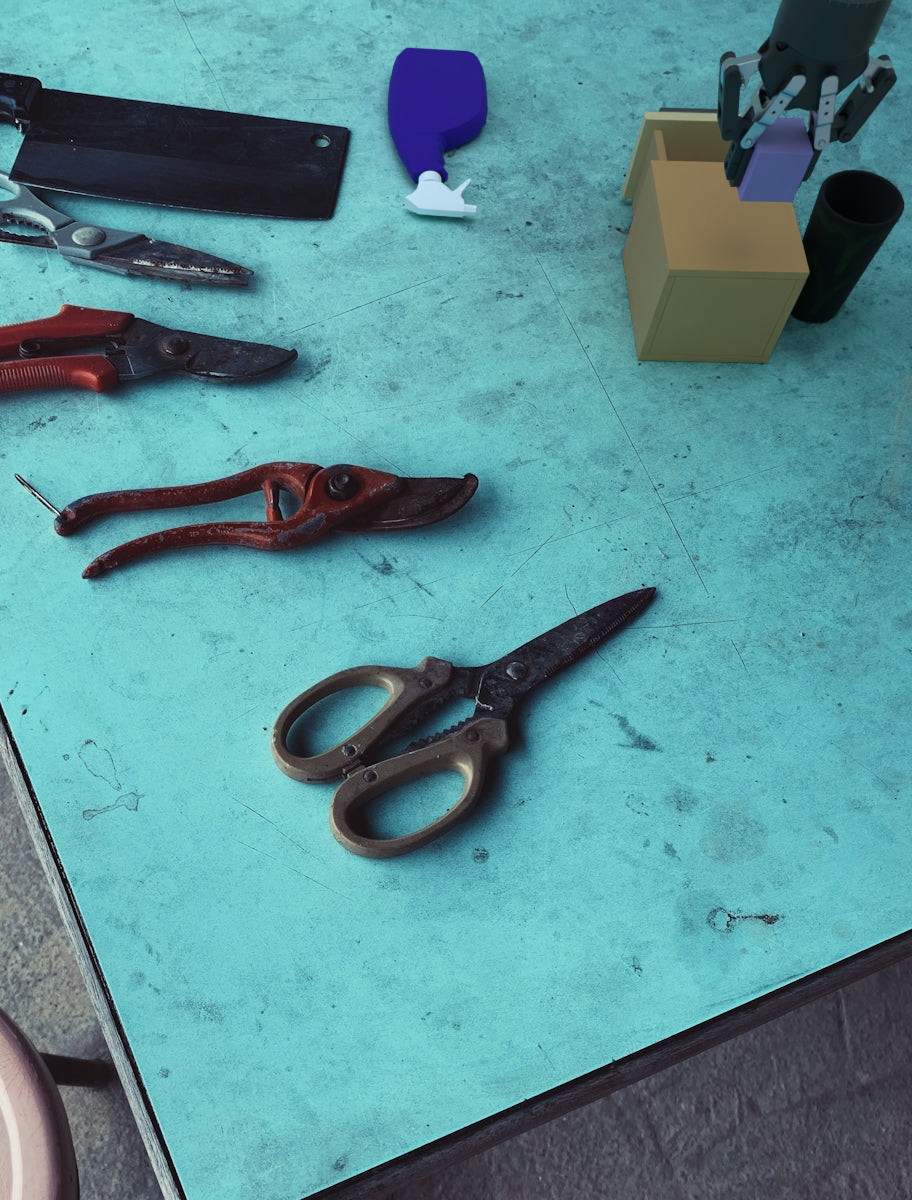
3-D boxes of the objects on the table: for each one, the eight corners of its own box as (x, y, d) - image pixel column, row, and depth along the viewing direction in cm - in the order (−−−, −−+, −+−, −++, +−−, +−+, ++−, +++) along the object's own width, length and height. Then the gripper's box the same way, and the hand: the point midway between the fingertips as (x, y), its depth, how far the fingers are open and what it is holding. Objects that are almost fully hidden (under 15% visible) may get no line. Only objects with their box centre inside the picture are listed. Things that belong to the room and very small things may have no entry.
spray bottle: (390, 44, 132) (384, 197, 121) (489, 49, 132) (492, 203, 121) (388, 70, 134) (382, 222, 124) (485, 75, 134) (487, 228, 124)
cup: (808, 266, 122) (860, 158, 111) (864, 310, 120) (922, 204, 109) (755, 296, 120) (802, 189, 109) (811, 342, 117) (865, 237, 107)
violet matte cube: (782, 167, 103) (803, 117, 99) (792, 202, 101) (814, 153, 97) (730, 166, 103) (749, 116, 99) (739, 201, 101) (759, 152, 97)
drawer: (617, 163, 127) (639, 83, 119) (723, 166, 127) (753, 86, 119) (635, 282, 119) (660, 204, 111) (748, 285, 119) (782, 208, 112)
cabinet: (622, 255, 122) (650, 159, 113) (744, 258, 122) (783, 163, 113) (637, 360, 116) (669, 269, 106) (766, 363, 116) (810, 272, 107)
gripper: (760, -3, 84) (686, 210, 100) (959, 1, 85) (854, 213, 100) (742, -65, 88) (673, 151, 103) (934, -61, 88) (836, 153, 103)
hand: (763, 180), depth 102 cm, fingers closed on violet matte cube, 4 cm apart
